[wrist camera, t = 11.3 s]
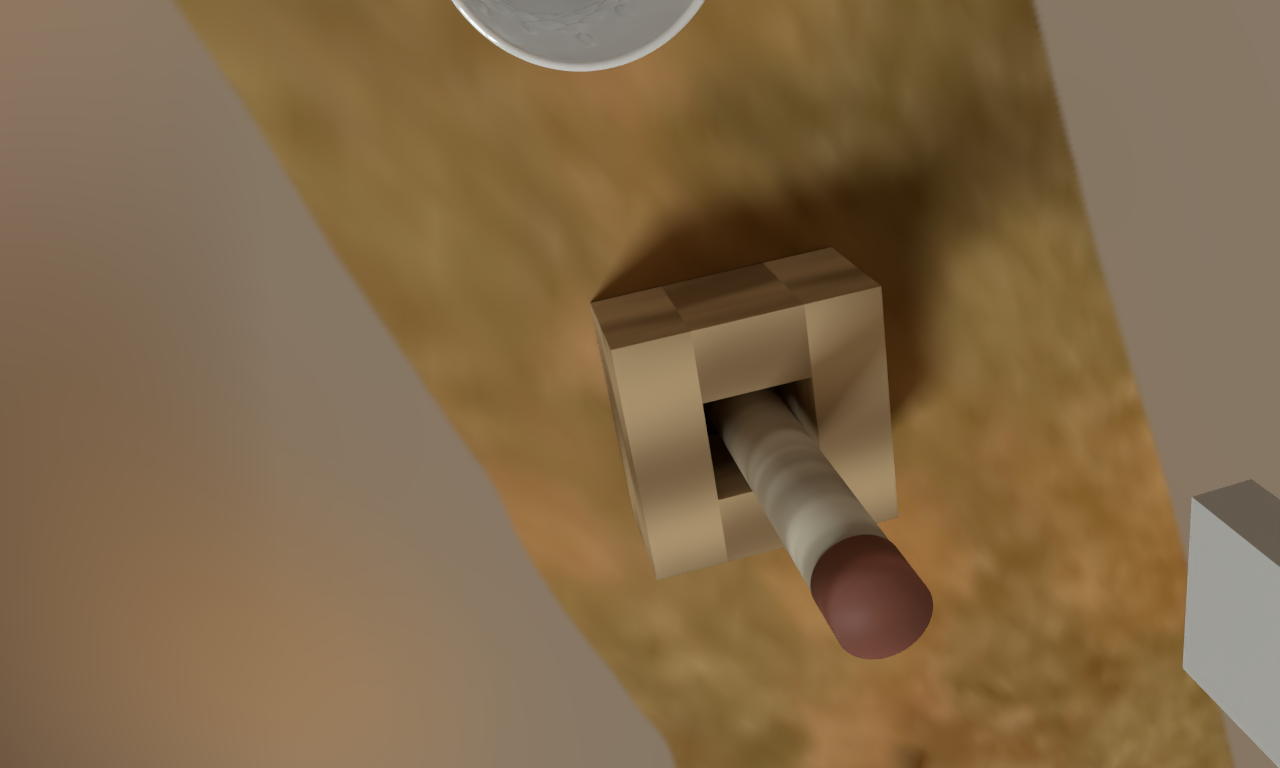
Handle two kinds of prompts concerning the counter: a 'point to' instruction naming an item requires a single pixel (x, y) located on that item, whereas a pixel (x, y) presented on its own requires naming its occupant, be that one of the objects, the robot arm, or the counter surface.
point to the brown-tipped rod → (824, 528)
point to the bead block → (736, 364)
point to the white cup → (579, 29)
